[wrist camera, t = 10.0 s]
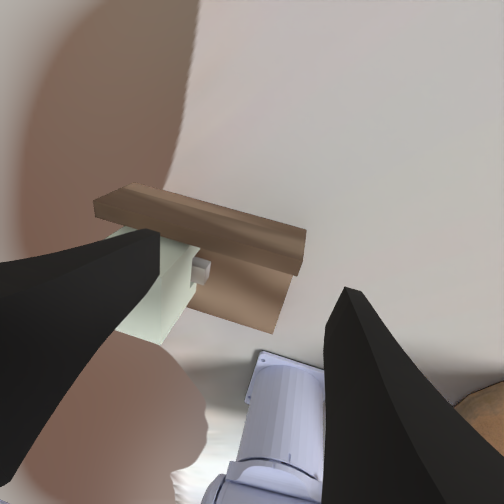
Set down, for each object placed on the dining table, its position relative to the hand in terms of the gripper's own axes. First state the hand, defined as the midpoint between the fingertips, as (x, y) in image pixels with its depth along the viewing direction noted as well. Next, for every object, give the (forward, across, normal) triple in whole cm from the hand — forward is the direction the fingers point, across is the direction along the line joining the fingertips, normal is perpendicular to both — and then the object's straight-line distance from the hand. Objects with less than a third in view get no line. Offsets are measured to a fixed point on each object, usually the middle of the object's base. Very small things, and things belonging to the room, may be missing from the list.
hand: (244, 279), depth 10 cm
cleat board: (+10, +4, +7) cm, 13 cm away
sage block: (+9, +8, +7) cm, 13 cm away
